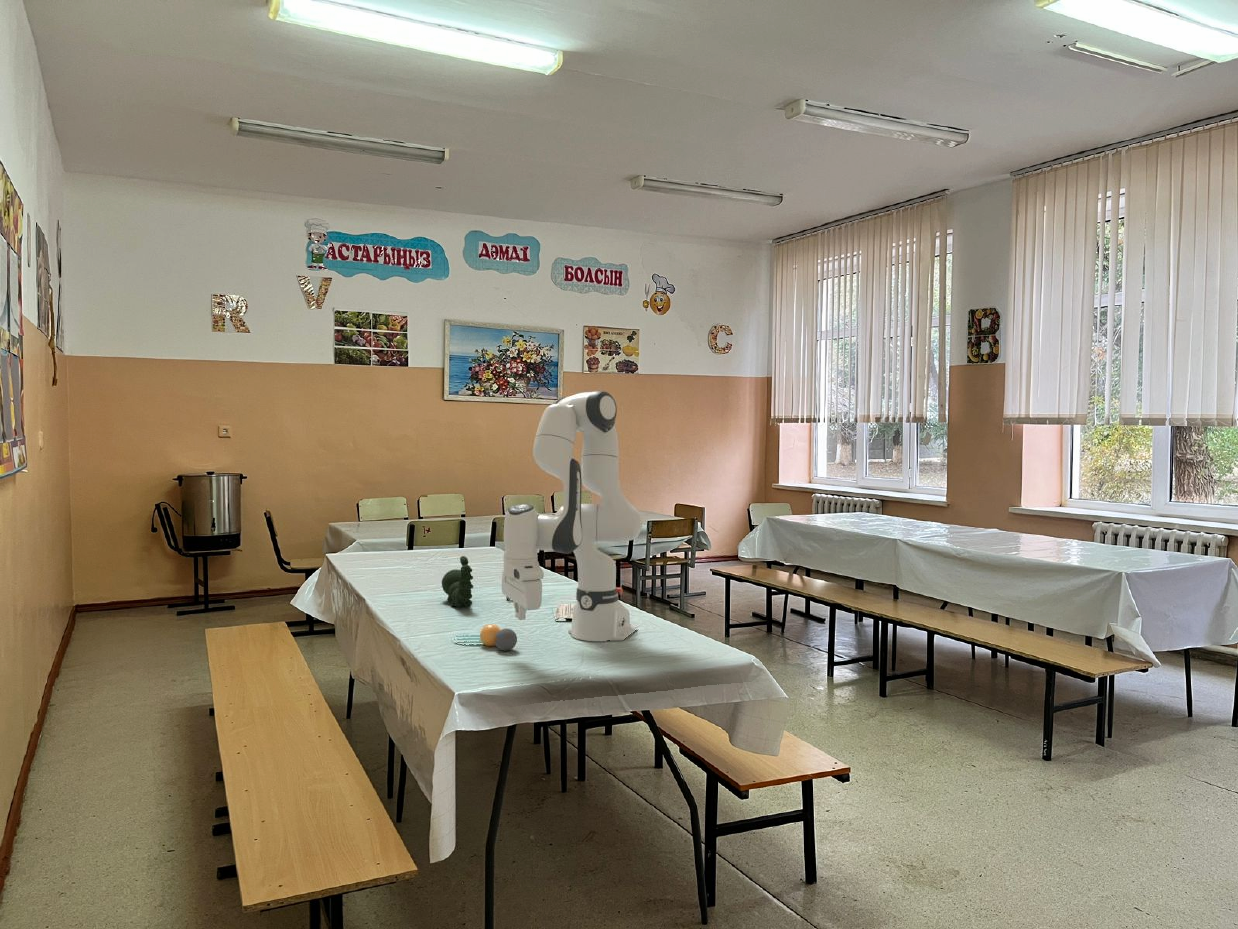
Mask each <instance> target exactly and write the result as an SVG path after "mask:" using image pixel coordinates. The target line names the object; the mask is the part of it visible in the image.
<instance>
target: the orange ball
mask: <svg viewBox="0 0 1238 929" xmlns="http://www.w3.org/2000/svg"><path fill="white" fill-rule="evenodd" d="M500 630H501V628H500V627H499V626H498V625H496V624H494V623H493V624H491V623H490V624H489V623H488V624H486V625H485V626H483V627H482V628H481V630H480V632H479V633H480V639H481V641H482V642H483V644H485V646H487V647H494V646H497V645H496V643H495V637H496V634H497V633H498V632H499V631H500Z"/></svg>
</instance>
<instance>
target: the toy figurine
mask: <svg viewBox="0 0 1238 929" xmlns="http://www.w3.org/2000/svg"><path fill="white" fill-rule="evenodd" d="M459 559H460V560H459V562H460V564H461V568H460V569H451V570H449V571H447V572H446V573H445V574H444V575H443V577H442V579H441V587H442V589H443V592H444V593H445V594H446V595H448V597H447V598H446V601H447V603H449V604H450V606H451V607H452V606H455V607H460V606H461V607H462V606H466V605H467V606H466V607H470V606H472V605H473V600H471V599H472V598H473V594H472V589H474V585H473V583H472V580H473V579H474V576H473V575H472V572H473V569H472V568H471V566H470V565H468V564H469V560H468V557H467V556H466V555H462V556H460V558H459Z"/></svg>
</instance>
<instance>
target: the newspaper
mask: <svg viewBox="0 0 1238 929" xmlns="http://www.w3.org/2000/svg"><path fill="white" fill-rule="evenodd" d="M573 604H574V603H573ZM573 604H572V603H558V604H557V605H556V607H557V611H556V619H555V618H554V620H555V622H556V620H558V619H559V618H566V619H572V616H573V606H574V605H573Z"/></svg>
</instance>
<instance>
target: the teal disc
mask: <svg viewBox="0 0 1238 929" xmlns="http://www.w3.org/2000/svg"><path fill="white" fill-rule="evenodd" d="M455 636H456V637H480V635H471V636H469V635H466V636H464V635H463V636H458V635H455ZM454 640H455V639H454ZM457 640H479V641H470V642H469V641H468V642H467V641H464V642H457V643H483V642H482V641H481V639H480V638H467V639H466V638H463V639H457ZM464 645H466V644H464ZM464 645H463V646H464ZM469 645H470V646H469V647H481V646H480V645H485V644H476V645H474V644H469ZM485 646H486V645H485Z"/></svg>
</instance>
